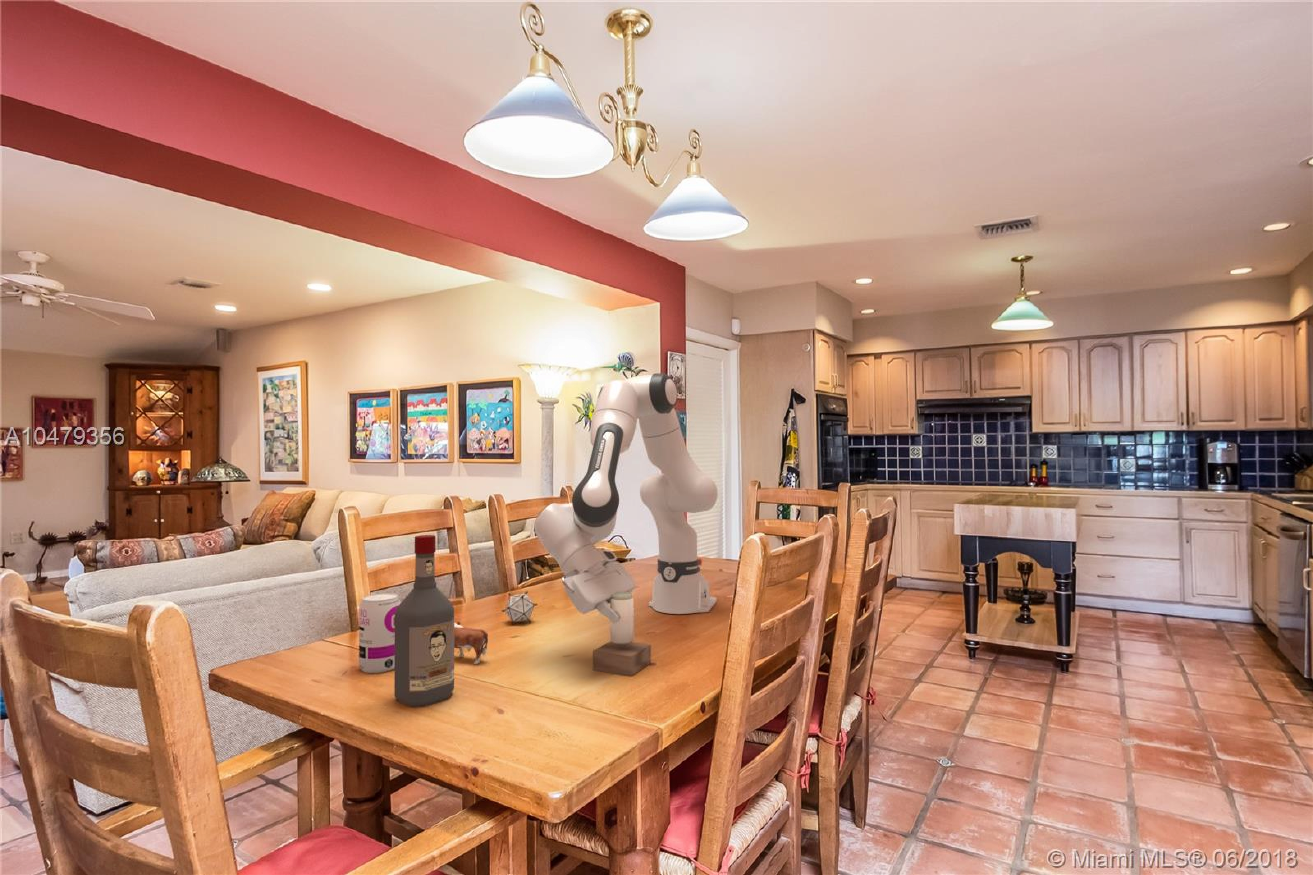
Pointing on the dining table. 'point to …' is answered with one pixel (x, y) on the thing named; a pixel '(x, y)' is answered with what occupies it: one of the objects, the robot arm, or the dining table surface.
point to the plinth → (622, 657)
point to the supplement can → (377, 632)
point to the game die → (519, 607)
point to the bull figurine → (470, 640)
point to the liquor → (424, 635)
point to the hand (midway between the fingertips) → (624, 617)
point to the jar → (622, 617)
